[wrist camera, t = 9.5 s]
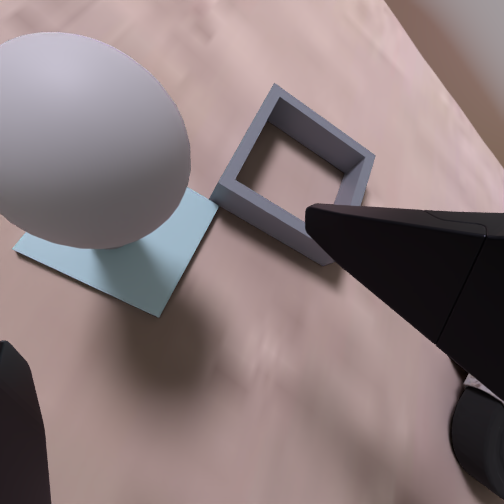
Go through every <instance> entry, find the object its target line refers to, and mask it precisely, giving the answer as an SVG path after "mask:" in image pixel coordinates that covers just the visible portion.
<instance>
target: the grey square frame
mask: <svg viewBox="0 0 504 504" xmlns="http://www.w3.org/2000/svg"><path fill="white" fill-rule="evenodd" d="M266 121H269V122H270V123H272V124H273V125H275V126H276V127H278V128H279V129H281V130H282V131H283V132H285V133H286V134H288V135H289V136H291V137H292V138H294V139H295V140H297V141H298V142H300V143H301V144H303V145H304V146H306V147H307V148H308V149H310V150H311V151H313V152H314V153H316V154H317V155H319V156H320V157H322V158H323V159H325V160H326V161H328V162H329V163H330V164H332V165H333V166H335V167H336V168H338V169H339V170H341V171H342V172H344V173H345V174H344V176H343V179H342V182H341V185H340V188H339V191H338V194H337V197H336V200H335V202H334V204H335V205H351V206H361V202H362V199H363V196H364V192H365V189H366V186H367V182H368V179H369V176H370V172H371V169H372V166H373V162H374V159H375V156H376V155H374V154H373V153H371V152H370V151H369V150H367V149H366V148H364V147H363V146H362V145H360V144H359V143H357V142H356V141H355V140H353V139H352V138H350V137H349V136H348V135H346V134H345V133H343V132H342V131H341V130H339V129H338V128H337V127H335V126H334V125H332V124H331V123H330V122H328V121H327V120H325V119H324V118H323V117H321V116H320V115H318V114H317V113H316V112H314V111H313V110H311V109H310V108H309V107H307V106H306V105H304V104H303V103H302V102H300V101H299V100H297V99H296V98H295V97H293V96H292V95H290V94H289V93H288V92H286V91H285V90H284V89H282V88H281V87H279V86H278V85H277V84H275V83H274V84H273V86H272V88H271V90H270V91H269V93H268V95H267V97H266V98H265V100H264V102H263V104H262V106H261V107H260V109H259V111H258V113H257V114H256V116H255V118H254V120H253V121H252V123H251V125H250V127H249V129H248V130H247V132H246V134H245V136H244V137H243V139H242V141H241V143H240V144H239V146H238V148H237V150H236V152H235V153H234V155H233V157H232V159H231V160H230V162H229V164H228V166H227V167H226V169H225V171H224V173H223V175H222V176H221V178H220V180H219V182H218V183H217V185H216V187H215V189H214V191H213V193H212V195H211V196H210V198H209V200H210V201H212V202H214V203H216V204H217V205H219V206H220V207H222V208H224V209H226V210H227V211H229V212H231V213H232V214H234V215H236V216H238V217H239V218H241V219H243V220H244V221H246V222H248V223H250V224H251V225H253V226H255V227H256V228H258V229H260V230H262V231H263V232H265V233H267V234H268V235H270V236H272V237H274V238H275V239H277V240H279V241H280V242H282V243H284V244H286V245H287V246H289V247H291V248H293V249H294V250H296V251H298V252H299V253H301V254H303V255H305V256H306V257H308V258H310V259H311V260H313V261H315V262H317V263H318V264H320V265H322V266H325V265H328V264H330V263H333V262H335V261H334V260H333V259H332V258H331V257H330V256H329V255H328V254H327V253H326V252H325V251H324V250H323V249H322V248H321V247H320V246H319V245H318V244H317V243H316V242H315V241H314V240H313V239H312V238H311V237H310V236H309V235H308V234H307V232H306V230H305V222H303V221H302V220H300V219H299V218H297V217H295V216H294V215H292V214H290V213H289V212H287V211H285V210H284V209H282V208H281V207H279V206H277V205H276V204H274V203H272V202H271V201H269V200H268V199H266V198H264V197H263V196H261V195H259V194H258V193H256V192H254V191H253V190H251V189H250V188H248V187H246V186H245V185H243V184H241V183H240V182H238V181H237V180H235V179H236V177H237V175H238V173H239V171H240V169H241V168H242V166H243V164H244V162H245V160H246V158H247V156H248V154H249V153H250V151H251V149H252V147H253V145H254V143H255V141H256V140H257V138H258V136H259V134H260V132H261V130H262V128H263V127H264V125H265V123H266Z"/></svg>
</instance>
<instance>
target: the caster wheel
mask: <svg viewBox="0 0 504 504" xmlns="http://www.w3.org/2000/svg"><path fill="white" fill-rule="evenodd" d="M463 386H464V388H465V391H464V393H463V394H462V396H461V398H460V400H459V402H458V404H457V406H456V410H455V413H454V416H453V424H452V441H453V447H454V450H455V454H456V456H457V459H458V461H459V462H460V464H461V466H462V467H463V469H464V470H465V471H467V472H468V473H469V474H470V475H471V476H472V477H474V478H475V479H476V480H478V481H479V482H480V483H482V484H483V485H484V486H486V487H487V488H488V489H490V490H491V491H492V492H494V493H495V494H496V495H498V496H499V497H500V498H502V499H503V500H504V401H502V400H501V399H500V398H498V397H497V396H496V395H495V394H493V393H492V392H491V391H490V390H489V389H487V388H486V387H485V386H484V385H483V384H481V383H480V382H479V381H478V380H477V379H475V378H474V377H473V376H472V375H471V374H468V376H467V378H466V380H465V382H464V384H463Z"/></svg>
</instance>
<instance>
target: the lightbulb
mask: <svg viewBox="0 0 504 504" xmlns="http://www.w3.org/2000/svg"><path fill="white" fill-rule="evenodd" d="M190 171H191V160H190V143H189V139H188V135H187V131H186V127H185V124H184V121H183V119H182V116H181V114H180V112H179V110H178V108H177V106H176V104H175V103H174V101H173V100H172V99H171V97H170V96H169V94H168V93H167V91H166V90H165V89H164V87H163V86H162V85H161V83H160V82H159V81H158V80H157V79H156V78H155V77H154V76H153V75H152V74H151V73H150V72H149V71H148V70H147V69H145V68H144V67H143V66H141V65H140V64H139V63H137V62H136V61H135V60H134V59H132V58H131V57H130V56H128V55H127V54H125V53H123V52H122V51H120V50H118V49H116V48H115V47H113V46H111V45H108V44H106V43H104V42H101V41H99V40H96V39H93V38H89V37H86V36H82V35H78V34H71V33H63V32H39V33H33V34H27V35H22V36H20V37H17V38H14V39H11V40H8V41H6V42H5V43H3V44H1V45H0V213H1V214H2V215H3V216H4V217H5V218H6V219H7V220H8V221H9V222H11V223H12V224H14V225H16V226H17V227H19V228H21V229H22V230H24V231H26V232H27V233H29V234H31V235H33V236H36V237H38V238H41V239H44V240H46V241H49V242H52V243H55V244H59V245H64V246H69V247H75V248H80V249H116V248H119V247H122V246H124V245H126V244H129V243H132V242H135V241H138V240H139V239H141V238H143V237H145V236H147V235H148V234H150V233H152V232H153V231H155V230H156V229H157V228H159V227H160V226H161V225H162V224H163V223H164V222H166V221H167V220H168V219H169V218H170V217H171V215H172V214H173V213H174V211H175V210H176V209H177V208H178V206H179V204H180V202H181V200H182V198H183V196H184V193H185V191H186V188H187V186H188V181H189V176H190Z"/></svg>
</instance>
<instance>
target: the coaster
mask: <svg viewBox="0 0 504 504" xmlns="http://www.w3.org/2000/svg"><path fill="white" fill-rule="evenodd" d="M218 207H219V205H217V204H216V203H214V202H212V201H210V200H209V199H207V198H205V197H204V196H202V195H200V194H198V193H197V192H195V191H193V190H192V189H190V188H188V187H187V188H186V191H185V193H184V196H183V198H182V200H181V202H180V204H179V206H178V208H177V209H176V210H175V211H174V213H173V214H172V215H171V217H170V218H169V219H168V220H167V221H166V222H164V223H163V224H162V225H161V226H160V227H159V228H157V229H156V230H155V231H153V232H152V233H150V234H148V235H147V236H145V237H143V238H141V239H139V240H138V241H135V242H132V243H129V244H126V245H124V246H122V247H119V248H116V249H80V248H75V247H69V246H64V245H59V244H55V243H52V242H49V241H46V240H44V239H41V238H38V237H36V236H33V235H31V234H29V233H27V232H26V233H25V234H24V235H23V236H22V237H21V239H20V240H19V241H18V242H17V243H16V245H15V246H14V247H13V248H12V249H13V250H14V251H16V252H18V253H21V254H23V255H25V256H27V257H29V258H31V259H33V260H36V261H38V262H40V263H42V264H44V265H46V266H48V267H51V268H53V269H55V270H57V271H59V272H61V273H63V274H66V275H68V276H70V277H72V278H74V279H76V280H78V281H81V282H83V283H85V284H87V285H89V286H91V287H93V288H96V289H98V290H100V291H102V292H104V293H106V294H108V295H111V296H113V297H115V298H117V299H119V300H121V301H123V302H126V303H128V304H130V305H132V306H134V307H136V308H138V309H141V310H143V311H145V312H147V313H149V314H151V315H153V316H156V317H158V318H159V317H160V315H161V313H162V311H163V309H164V307H165V305H166V304H167V302H168V300H169V298H170V296H171V294H172V292H173V291H174V289H175V287H176V285H177V283H178V281H179V280H180V278H181V276H182V274H183V272H184V270H185V268H186V267H187V265H188V263H189V261H190V259H191V257H192V255H193V254H194V252H195V250H196V248H197V246H198V244H199V243H200V241H201V239H202V237H203V235H204V233H205V231H206V230H207V228H208V226H209V224H210V222H211V220H212V218H213V217H214V215H215V213H216V211H217V209H218Z"/></svg>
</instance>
